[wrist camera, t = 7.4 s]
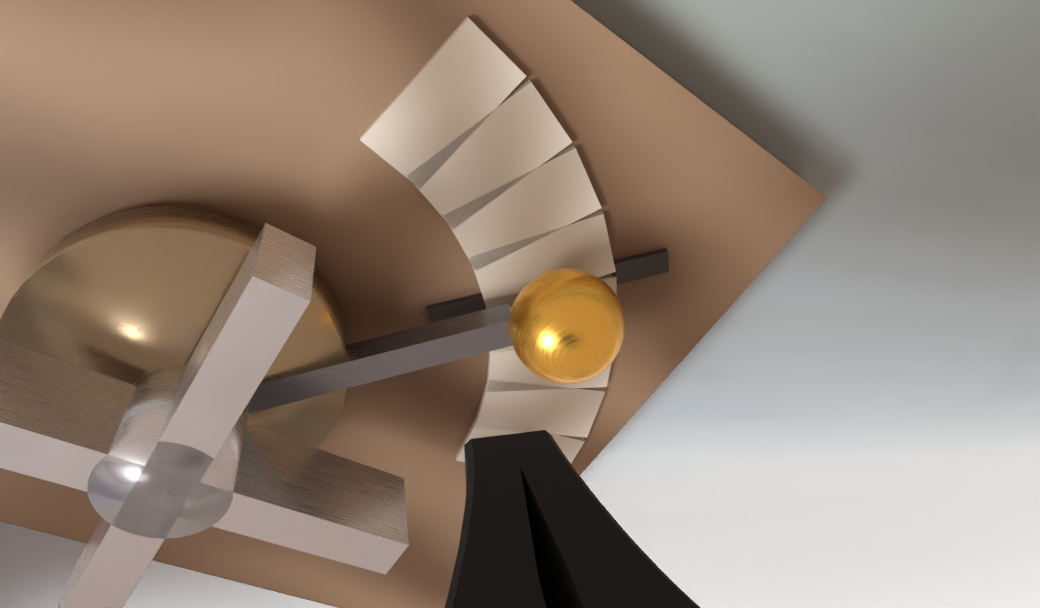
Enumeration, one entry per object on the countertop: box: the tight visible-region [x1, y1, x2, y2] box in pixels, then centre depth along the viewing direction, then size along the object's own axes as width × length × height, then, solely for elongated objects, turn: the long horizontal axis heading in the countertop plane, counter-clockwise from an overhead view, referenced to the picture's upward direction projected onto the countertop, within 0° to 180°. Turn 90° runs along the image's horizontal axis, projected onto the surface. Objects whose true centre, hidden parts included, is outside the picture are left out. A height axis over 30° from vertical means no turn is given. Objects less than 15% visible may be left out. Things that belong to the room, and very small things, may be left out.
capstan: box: [0, 206, 625, 608], centre depth 18 cm, size 15×15×4 cm
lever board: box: [0, 0, 827, 608], centre depth 21 cm, size 21×21×2 cm
